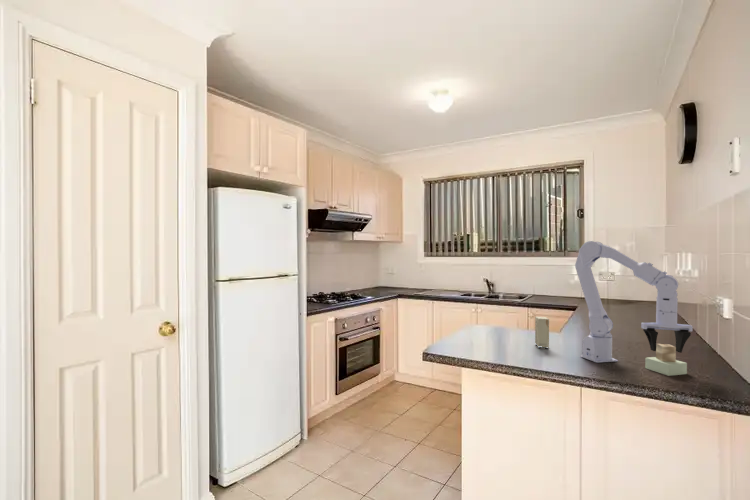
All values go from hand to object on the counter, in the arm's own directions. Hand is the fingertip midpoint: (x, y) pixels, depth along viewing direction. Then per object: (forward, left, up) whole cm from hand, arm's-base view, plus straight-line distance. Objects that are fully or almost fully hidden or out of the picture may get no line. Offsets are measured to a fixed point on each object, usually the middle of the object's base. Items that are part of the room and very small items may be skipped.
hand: (665, 351), depth 130 cm
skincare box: (-21, +36, -7) cm, 42 cm away
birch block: (0, 0, -3) cm, 3 cm away
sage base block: (0, 0, -7) cm, 7 cm away
